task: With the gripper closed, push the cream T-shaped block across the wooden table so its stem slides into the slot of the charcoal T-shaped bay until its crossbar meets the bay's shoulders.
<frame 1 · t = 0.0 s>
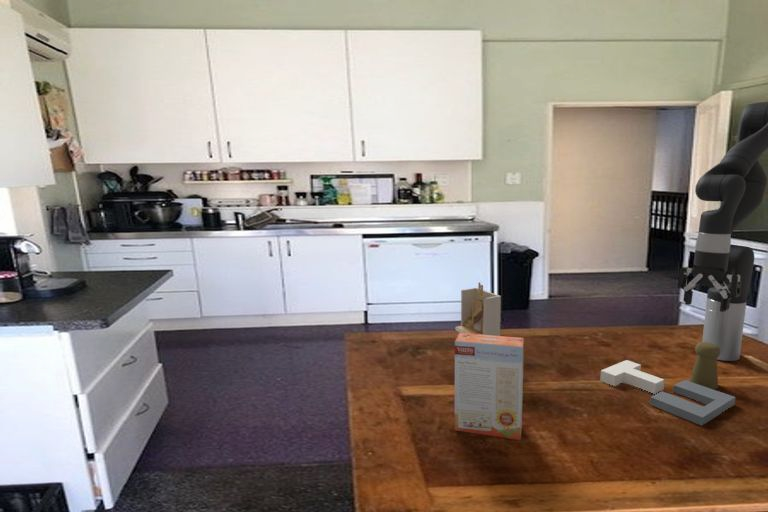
hand: (705, 307, 124), 17 cm above the table, tool pointing down, fingers open, 8 cm apart
cracker box: (488, 429, 99), on the table
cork: (703, 384, 117), on the table
t bay: (676, 398, 110), on the table
beige open box: (478, 364, 133), on the table
t block: (635, 383, 118), on the table
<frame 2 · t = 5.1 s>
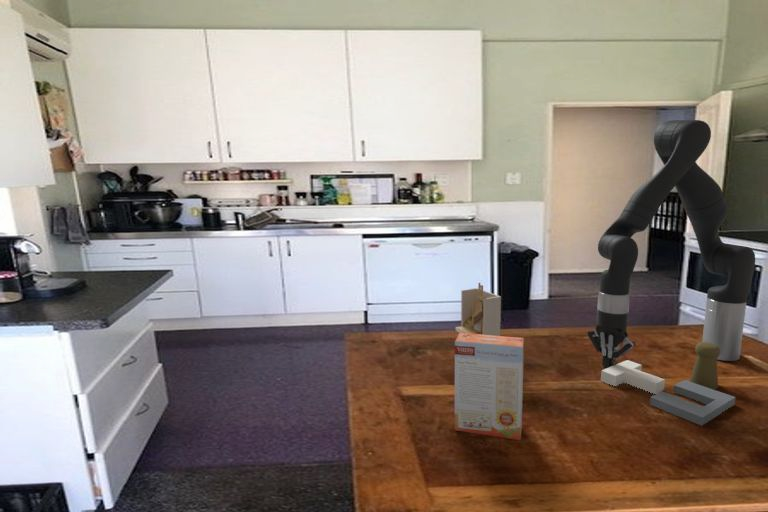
hand: (608, 368, 124), 1 cm above the table, tool pointing down, fingers closed
t block: (635, 383, 118), on the table, touching gripper
everything else where it was.
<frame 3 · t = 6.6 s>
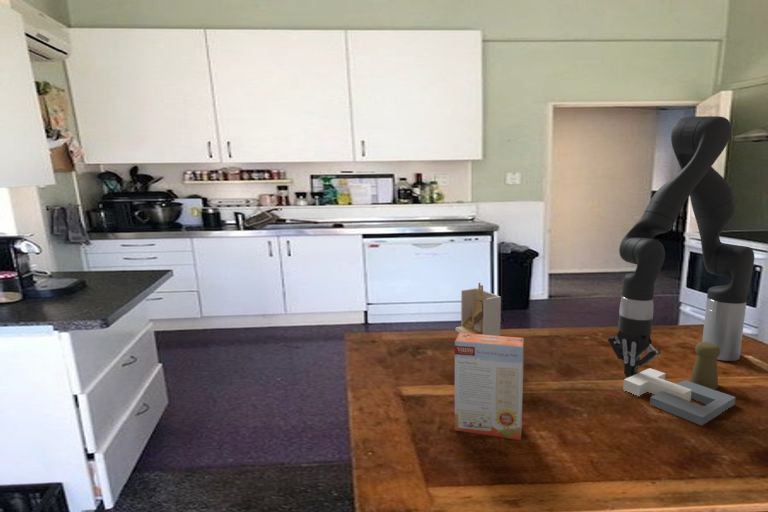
hand: (630, 377, 119), 1 cm above the table, tool pointing down, fingers closed
t block: (660, 393, 112), on the table, touching gripper
everything else where it was.
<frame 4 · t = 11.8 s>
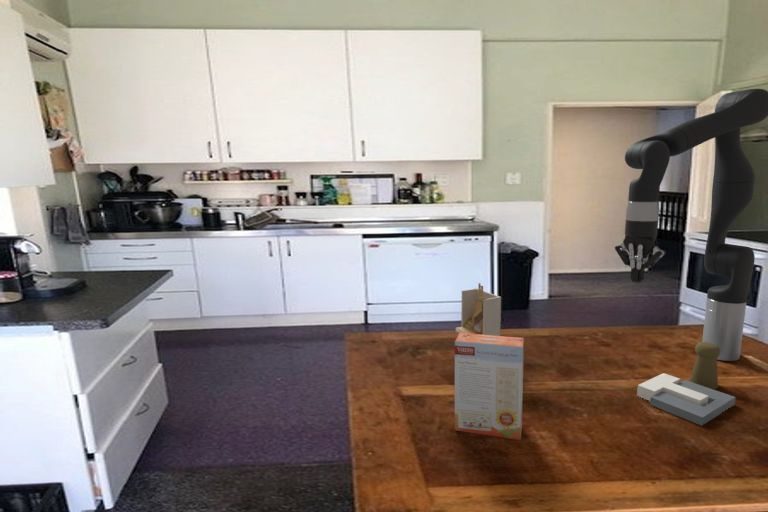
hand: (636, 281, 123), 25 cm above the table, tool pointing down, fingers closed
t block: (675, 399, 109), on the table
everything else where it was.
at the end: t block 0.8 cm off-centre on the t bay, point 0.0 cm above the t bay's base; t block tilted 0° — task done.
